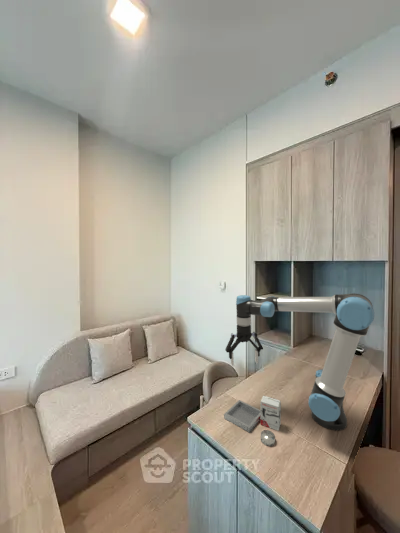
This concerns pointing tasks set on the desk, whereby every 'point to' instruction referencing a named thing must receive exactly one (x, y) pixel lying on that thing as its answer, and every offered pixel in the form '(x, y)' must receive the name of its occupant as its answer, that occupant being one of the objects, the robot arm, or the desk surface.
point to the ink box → (271, 412)
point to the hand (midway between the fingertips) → (244, 363)
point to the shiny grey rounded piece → (267, 438)
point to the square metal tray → (243, 415)
